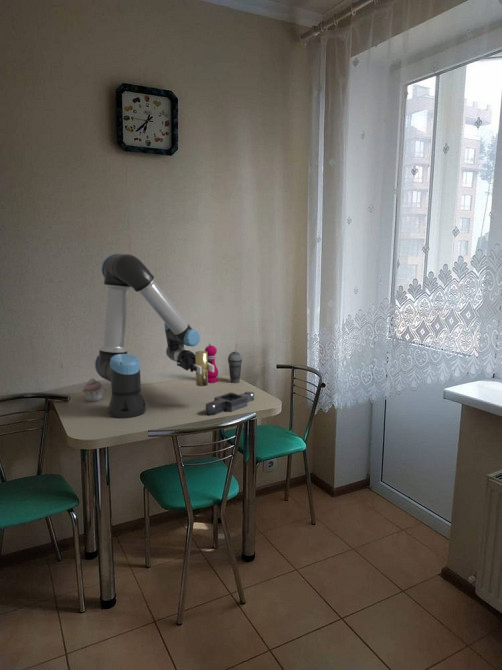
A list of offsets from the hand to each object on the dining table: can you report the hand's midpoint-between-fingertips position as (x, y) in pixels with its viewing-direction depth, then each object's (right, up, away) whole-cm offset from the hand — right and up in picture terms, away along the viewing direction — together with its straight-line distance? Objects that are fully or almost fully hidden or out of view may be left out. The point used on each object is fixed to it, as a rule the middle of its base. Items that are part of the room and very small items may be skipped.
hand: (207, 369), depth 200 cm
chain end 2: (+12, -16, +12) cm, 23 cm away
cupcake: (-52, -15, +18) cm, 57 cm away
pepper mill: (-2, -9, +47) cm, 48 cm away
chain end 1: (+6, -17, +5) cm, 19 cm away
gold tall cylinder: (-3, -7, +6) cm, 9 cm away
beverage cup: (+10, -10, +46) cm, 48 cm away
